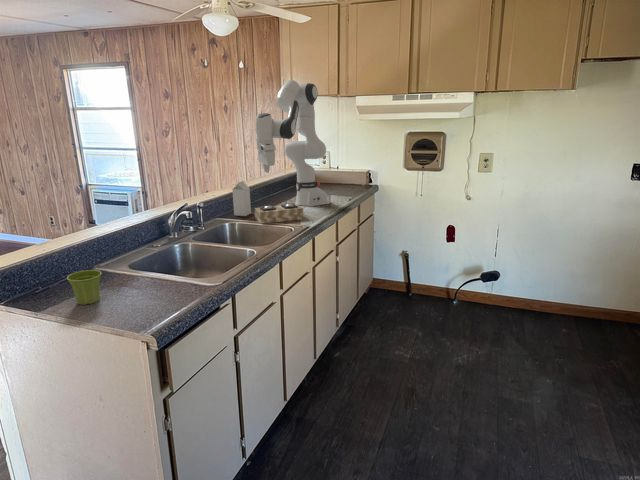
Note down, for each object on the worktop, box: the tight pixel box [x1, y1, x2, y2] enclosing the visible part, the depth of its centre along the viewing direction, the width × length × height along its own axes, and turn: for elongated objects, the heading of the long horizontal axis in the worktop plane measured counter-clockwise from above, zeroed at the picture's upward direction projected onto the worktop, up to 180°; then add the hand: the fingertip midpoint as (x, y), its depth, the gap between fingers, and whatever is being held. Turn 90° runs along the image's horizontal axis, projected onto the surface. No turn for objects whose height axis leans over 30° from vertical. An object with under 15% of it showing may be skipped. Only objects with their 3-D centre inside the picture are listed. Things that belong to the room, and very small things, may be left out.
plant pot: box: [66, 269, 103, 306], centre depth 135 cm, size 9×9×9 cm
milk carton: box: [231, 180, 252, 217], centre depth 248 cm, size 7×7×19 cm
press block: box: [253, 203, 305, 224], centre depth 238 cm, size 24×12×7 cm, turn 112°
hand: (266, 172), depth 233 cm, fingers closed
